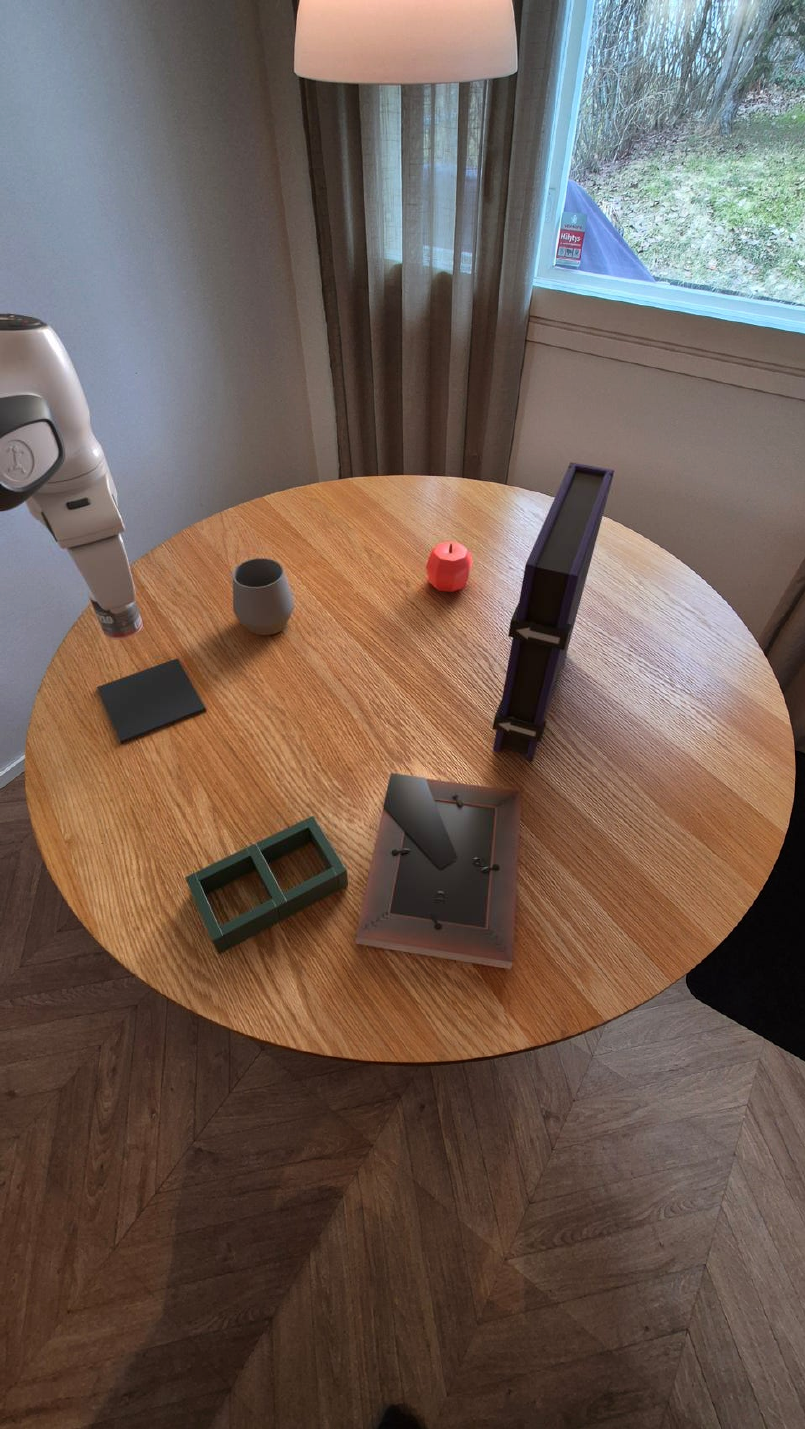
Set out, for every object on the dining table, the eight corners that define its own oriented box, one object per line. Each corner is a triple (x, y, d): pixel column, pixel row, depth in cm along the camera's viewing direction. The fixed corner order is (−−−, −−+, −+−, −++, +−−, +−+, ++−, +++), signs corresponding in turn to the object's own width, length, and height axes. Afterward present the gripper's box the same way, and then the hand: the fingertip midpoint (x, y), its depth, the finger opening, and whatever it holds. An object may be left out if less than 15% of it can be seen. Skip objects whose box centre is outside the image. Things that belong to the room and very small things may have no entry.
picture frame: (390, 784, 85) (355, 945, 71) (390, 772, 83) (354, 935, 69) (519, 802, 83) (510, 970, 69) (522, 790, 82) (513, 961, 67)
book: (529, 643, 104) (566, 461, 81) (569, 653, 102) (618, 470, 80) (488, 752, 89) (520, 565, 67) (534, 766, 87) (582, 579, 65)
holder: (218, 954, 70) (211, 941, 67) (191, 892, 75) (184, 877, 72) (348, 885, 76) (347, 870, 73) (315, 831, 80) (313, 815, 78)
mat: (121, 744, 89) (119, 741, 89) (98, 689, 96) (96, 686, 96) (206, 710, 93) (205, 707, 93) (178, 660, 100) (177, 657, 100)
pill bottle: (96, 629, 82) (72, 573, 76) (129, 612, 85) (108, 556, 79) (117, 646, 80) (94, 589, 74) (151, 627, 83) (131, 571, 77)
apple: (466, 568, 117) (470, 529, 111) (475, 596, 112) (480, 556, 106) (421, 572, 116) (423, 532, 110) (429, 600, 111) (431, 559, 105)
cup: (287, 647, 102) (278, 595, 95) (229, 640, 103) (216, 588, 96) (303, 609, 109) (296, 557, 101) (249, 602, 110) (238, 551, 102)
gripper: (18, 454, 74) (63, 559, 84) (58, 544, 62) (106, 653, 72) (76, 441, 76) (114, 545, 86) (126, 525, 64) (163, 634, 74)
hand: (110, 595), depth 79 cm, fingers closed on pill bottle, 5 cm apart
